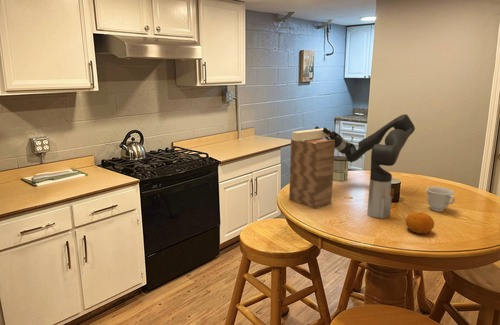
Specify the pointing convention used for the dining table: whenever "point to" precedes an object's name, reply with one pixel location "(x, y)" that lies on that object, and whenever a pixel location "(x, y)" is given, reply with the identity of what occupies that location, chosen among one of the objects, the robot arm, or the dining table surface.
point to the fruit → (419, 222)
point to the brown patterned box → (312, 172)
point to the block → (308, 134)
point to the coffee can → (340, 169)
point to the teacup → (439, 198)
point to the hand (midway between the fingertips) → (319, 128)
